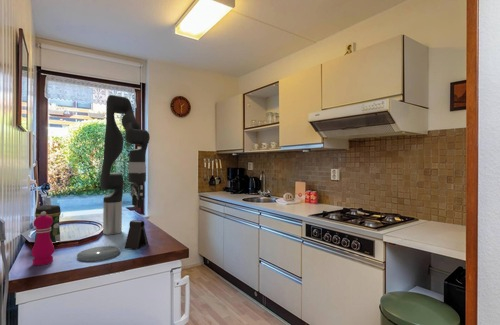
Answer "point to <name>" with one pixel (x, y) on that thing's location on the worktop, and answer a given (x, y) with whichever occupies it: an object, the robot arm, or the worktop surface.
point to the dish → (98, 253)
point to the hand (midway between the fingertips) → (137, 206)
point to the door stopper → (136, 235)
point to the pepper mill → (43, 240)
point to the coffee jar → (55, 214)
